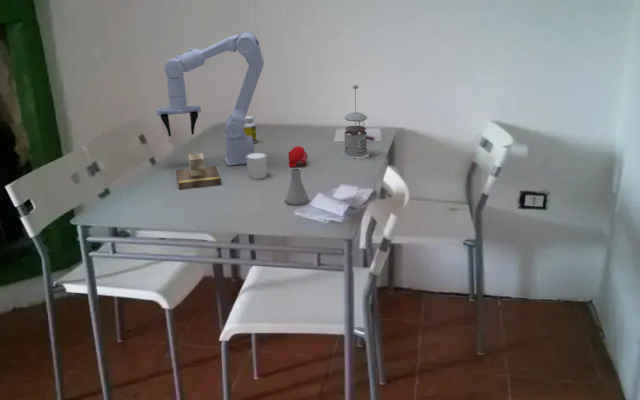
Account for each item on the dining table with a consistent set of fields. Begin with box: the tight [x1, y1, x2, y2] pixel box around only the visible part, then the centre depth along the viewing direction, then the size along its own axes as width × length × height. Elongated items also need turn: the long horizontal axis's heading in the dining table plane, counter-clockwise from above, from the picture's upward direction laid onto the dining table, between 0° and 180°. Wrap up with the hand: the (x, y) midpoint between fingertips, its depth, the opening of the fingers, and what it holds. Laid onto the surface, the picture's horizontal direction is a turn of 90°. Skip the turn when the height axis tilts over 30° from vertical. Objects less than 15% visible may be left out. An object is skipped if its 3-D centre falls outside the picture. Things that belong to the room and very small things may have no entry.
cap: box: [288, 145, 308, 169], centre depth 227 cm, size 8×6×6 cm
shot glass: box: [246, 152, 268, 180], centre depth 217 cm, size 7×7×7 cm
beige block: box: [187, 152, 206, 178], centre depth 214 cm, size 5×6×6 cm
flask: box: [284, 167, 310, 206], centre depth 195 cm, size 7×7×10 cm
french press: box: [342, 84, 369, 157], centre depth 233 cm, size 10×12×25 cm
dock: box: [175, 165, 222, 190], centre depth 215 cm, size 13×13×2 cm
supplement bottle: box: [244, 115, 257, 144], centre depth 253 cm, size 5×5×10 cm
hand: (181, 134), depth 228 cm, fingers open, 7 cm apart
